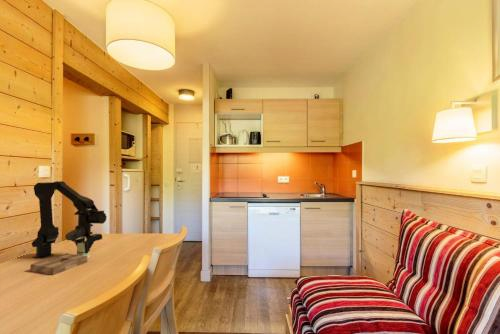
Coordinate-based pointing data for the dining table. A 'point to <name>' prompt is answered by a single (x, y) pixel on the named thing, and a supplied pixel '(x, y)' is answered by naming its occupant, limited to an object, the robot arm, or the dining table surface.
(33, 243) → the robot arm
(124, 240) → the dining table surface
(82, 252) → the peg
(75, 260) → the board
